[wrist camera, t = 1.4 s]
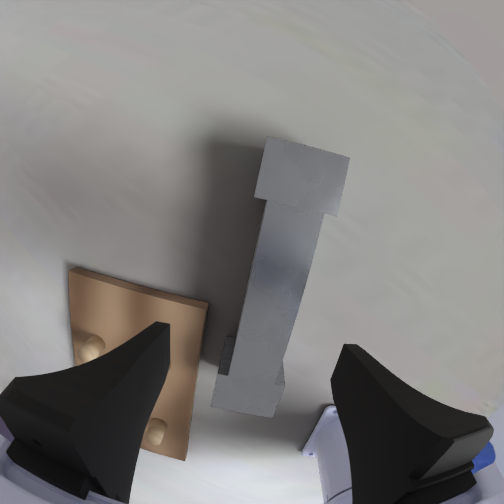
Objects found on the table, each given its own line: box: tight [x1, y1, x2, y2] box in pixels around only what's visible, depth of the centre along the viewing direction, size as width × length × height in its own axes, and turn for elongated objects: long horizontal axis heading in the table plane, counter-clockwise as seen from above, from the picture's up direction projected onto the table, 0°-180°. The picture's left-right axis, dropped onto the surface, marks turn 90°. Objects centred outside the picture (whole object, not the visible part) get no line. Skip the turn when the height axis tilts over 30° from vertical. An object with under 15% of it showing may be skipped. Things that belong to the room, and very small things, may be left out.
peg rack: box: [69, 267, 209, 461], centre depth 22 cm, size 12×20×4 cm, turn 168°
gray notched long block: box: [211, 137, 350, 418], centre depth 18 cm, size 17×4×5 cm, turn 168°
